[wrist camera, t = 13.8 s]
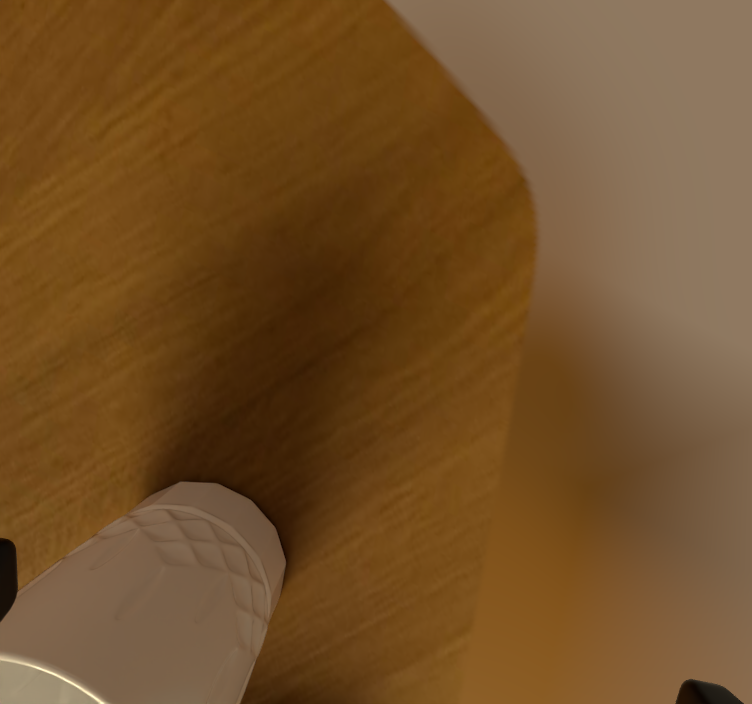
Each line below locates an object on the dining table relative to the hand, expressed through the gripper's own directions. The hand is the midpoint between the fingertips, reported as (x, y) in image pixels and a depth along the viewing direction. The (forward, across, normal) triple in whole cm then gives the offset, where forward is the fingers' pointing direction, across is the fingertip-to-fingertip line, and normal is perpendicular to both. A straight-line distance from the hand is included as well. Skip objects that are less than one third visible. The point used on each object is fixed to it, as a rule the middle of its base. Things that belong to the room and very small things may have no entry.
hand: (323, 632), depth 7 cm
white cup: (+13, +7, +9) cm, 17 cm away
